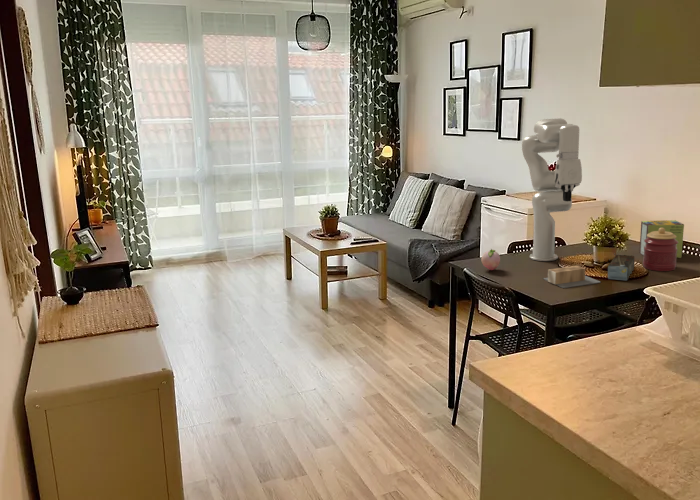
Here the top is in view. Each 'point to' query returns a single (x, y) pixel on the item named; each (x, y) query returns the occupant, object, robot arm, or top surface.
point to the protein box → (669, 226)
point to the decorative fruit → (491, 259)
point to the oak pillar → (566, 274)
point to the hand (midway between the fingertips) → (566, 200)
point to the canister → (660, 251)
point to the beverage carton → (621, 267)
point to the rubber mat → (577, 282)
